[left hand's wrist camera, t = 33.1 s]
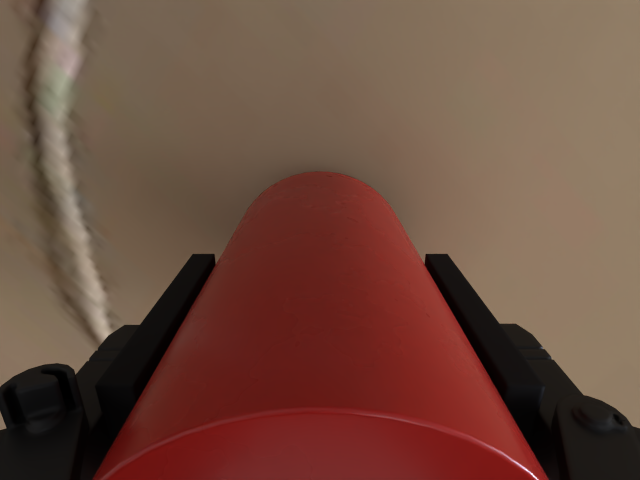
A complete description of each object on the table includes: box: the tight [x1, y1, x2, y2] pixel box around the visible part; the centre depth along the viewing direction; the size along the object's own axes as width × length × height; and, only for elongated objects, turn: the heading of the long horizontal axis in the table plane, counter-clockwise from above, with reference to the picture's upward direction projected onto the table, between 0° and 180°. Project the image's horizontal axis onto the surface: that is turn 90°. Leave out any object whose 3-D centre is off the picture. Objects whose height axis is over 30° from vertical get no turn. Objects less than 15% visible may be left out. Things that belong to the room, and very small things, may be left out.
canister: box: [92, 172, 549, 480], centre depth 12 cm, size 7×7×13 cm
